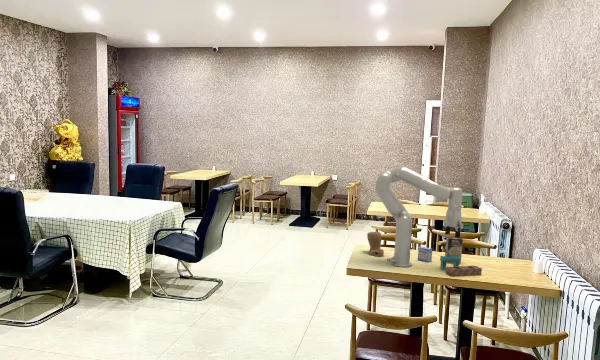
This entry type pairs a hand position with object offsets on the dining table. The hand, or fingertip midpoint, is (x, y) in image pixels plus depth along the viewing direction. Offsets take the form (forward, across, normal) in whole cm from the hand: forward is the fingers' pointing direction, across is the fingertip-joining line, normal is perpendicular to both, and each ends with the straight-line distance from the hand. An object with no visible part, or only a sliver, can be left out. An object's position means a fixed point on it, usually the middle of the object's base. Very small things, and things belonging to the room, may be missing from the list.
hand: (452, 236), depth 282 cm
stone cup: (+21, -41, -30) cm, 55 cm away
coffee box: (+21, -13, +12) cm, 27 cm away
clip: (+20, 0, -1) cm, 20 cm away
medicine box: (+21, -20, -5) cm, 29 cm away
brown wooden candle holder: (+20, +12, +1) cm, 23 cm away
